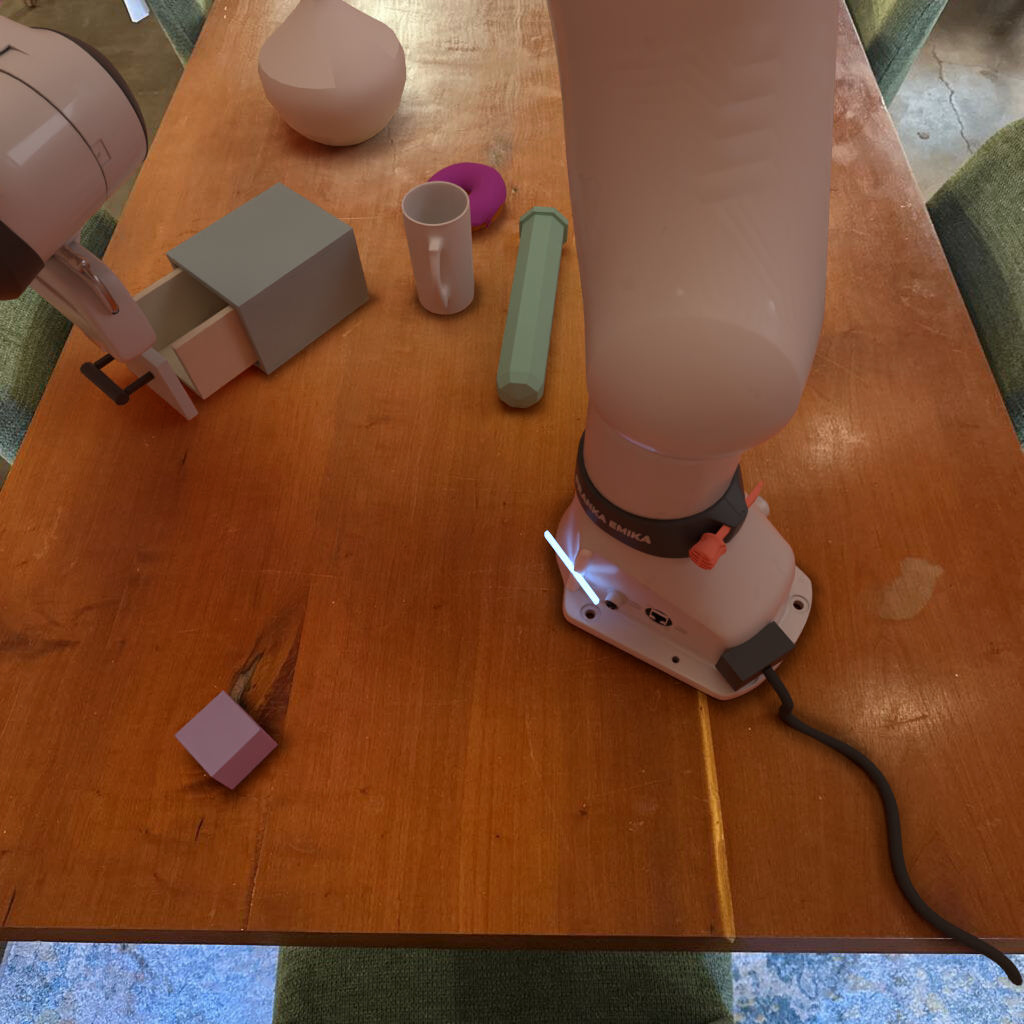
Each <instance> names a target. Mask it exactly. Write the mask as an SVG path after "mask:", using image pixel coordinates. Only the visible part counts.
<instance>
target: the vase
mask: <svg viewBox="0 0 1024 1024" xmlns="http://www.w3.org/2000/svg"><path fill="white" fill-rule="evenodd" d="M257 73H258V76H259V80H260V82H261V85H262V88H263V91H264V94H265V97H266V99H267V101H268V102H269V103H270V104H271V106H272V107H273V109H274V110H275V111H276V112H277V113H278V115H279V116H280V117H281V118H282V120H283V121H284V122H285V123H286V124H287V125H288V126H289V127H291V129H293V130H294V131H296V132H297V133H299V135H301V136H303V137H305V138H307V139H308V140H310V141H313V142H316V143H318V144H323V145H326V146H330V147H350V146H354V145H359V144H361V143H364V142H366V141H368V140H370V139H372V138H373V137H375V136H377V135H378V134H379V133H381V131H382V130H384V129H385V127H386V126H388V124H389V123H390V122H391V120H392V119H393V117H394V115H395V114H396V113H397V111H398V108H399V106H400V104H401V102H402V98H403V97H402V96H403V93H404V91H405V90H404V89H405V87H406V81H407V63H406V54H405V50H404V48H403V46H402V44H401V42H400V40H399V38H398V36H397V34H396V32H395V31H394V30H393V28H391V27H390V26H389V25H388V24H386V23H385V22H383V21H381V20H379V19H377V18H375V17H373V16H372V15H369V14H367V13H365V12H364V11H362V10H360V9H358V8H356V7H354V6H353V5H351V4H350V3H347V2H346V1H344V0H299V3H298V4H297V5H296V6H295V8H293V10H292V11H291V12H290V13H289V14H288V16H287V17H286V18H285V19H284V20H283V22H281V24H279V26H278V27H277V28H276V29H275V30H274V31H273V32H272V33H271V34H270V35H269V36H268V37H267V38H266V39H265V41H264V42H263V44H262V46H261V47H260V49H259V55H258V62H257Z"/></svg>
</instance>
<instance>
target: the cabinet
mask: <svg viewBox="0 0 1024 1024" xmlns="http://www.w3.org/2000/svg"><path fill="white" fill-rule="evenodd" d="M165 256H166V257H167V259H168V261H169V263H170V265H171V267H172V270H175V269H176V268H178V267H180V268H181V269H182V270H184V271H185V272H187V273H188V274H189V275H191V276H192V277H193V278H195V279H196V280H197V281H199V282H200V283H201V284H203V285H204V286H205V287H207V288H208V289H210V290H211V291H212V292H214V293H215V294H216V295H218V296H219V297H220V298H222V299H223V300H224V301H226V302H227V303H229V304H230V305H231V306H233V307H234V308H235V309H236V311H237V313H238V315H239V317H240V320H241V322H242V324H243V326H244V329H245V331H246V333H247V335H248V338H249V340H250V342H251V344H252V347H253V349H254V351H255V354H256V356H257V358H258V361H256V362H255V363H254V364H253V365H254V366H256V367H257V368H258V369H259V370H261V371H262V372H263V373H265V374H266V375H267V376H270V374H272V373H273V372H275V371H276V370H277V369H279V368H280V367H281V366H282V365H284V364H285V363H287V362H288V361H289V360H290V359H292V358H293V357H295V356H296V355H297V354H299V353H300V352H301V351H303V350H304V349H306V348H307V347H308V346H310V345H311V344H312V343H314V342H315V341H316V340H317V339H319V338H320V337H321V336H323V335H324V334H325V333H327V332H328V331H330V330H331V329H332V328H334V327H335V326H336V325H337V324H339V323H341V322H342V321H343V320H345V318H347V317H348V316H350V315H351V314H353V312H355V311H356V310H358V309H359V308H360V307H362V306H364V304H366V303H368V301H370V295H369V289H368V285H367V281H366V278H365V272H364V269H363V264H362V259H361V255H360V251H359V248H358V244H357V239H356V236H355V231H354V227H352V226H351V225H349V224H348V223H346V222H345V221H343V220H341V219H340V218H338V217H336V216H335V215H333V214H331V213H330V212H328V211H327V210H326V209H323V207H320V206H319V205H318V204H315V203H314V202H313V201H312V200H309V199H307V197H304V196H302V195H301V194H300V193H298V192H296V191H295V190H293V189H292V188H290V187H288V186H287V185H285V184H284V183H282V182H281V181H278V182H276V183H275V184H273V185H272V186H270V187H268V188H267V189H265V190H264V191H262V192H261V193H259V194H257V195H256V196H253V197H252V198H251V199H249V200H248V201H246V202H244V203H243V204H242V205H240V206H238V207H237V208H234V209H233V210H232V211H230V212H228V213H227V214H225V215H224V216H222V217H220V218H219V219H217V220H216V221H214V222H212V223H211V224H209V225H207V227H205V228H203V229H201V230H200V231H198V232H197V233H195V234H193V235H192V236H191V237H189V238H187V239H185V240H184V241H182V242H181V243H179V244H178V245H176V246H174V247H172V248H171V249H169V250H168V251H166V252H165Z"/></svg>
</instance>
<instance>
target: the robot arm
mask: <svg viewBox="0 0 1024 1024" xmlns="http://www.w3.org/2000/svg"><path fill="white" fill-rule="evenodd" d="M4 2H5V0H0V8H1V7H2V5H3V3H4ZM545 3H546V7H547V11H548V16H549V22H550V27H551V32H552V36H553V37H552V38H553V42H554V48H555V54H556V61H557V70H558V78H559V86H560V94H561V107H562V119H563V120H562V121H563V122H562V123H563V132H564V134H563V135H564V146H565V157H566V170H567V179H568V188H569V199H570V207H571V216H572V217H571V218H572V224H573V233H574V241H575V248H576V257H577V263H578V271H579V279H580V287H581V296H582V297H581V298H582V309H583V325H584V327H583V329H584V359H585V380H586V381H585V382H586V390H587V394H588V395H587V396H588V401H587V409H586V417H585V418H586V420H585V427H584V430H583V431H582V433H581V436H580V438H579V442H578V446H577V453H576V458H575V468H574V489H575V493H574V495H573V499H572V501H571V503H570V505H569V506H568V507H567V509H566V510H565V511H564V513H563V514H562V516H561V518H560V521H559V523H558V526H557V529H556V533H555V538H554V537H553V535H552V534H551V533H550V532H549V530H546V531H545V532H544V537H545V539H546V540H547V542H548V543H549V544H550V546H551V547H552V548H553V549H554V551H555V559H556V563H557V566H558V569H559V572H560V575H561V578H562V581H563V587H564V588H563V595H562V614H563V617H564V619H565V620H566V621H567V622H568V623H569V624H571V625H572V626H574V627H576V628H578V629H580V630H583V631H584V632H586V633H588V634H591V635H592V636H594V637H596V638H598V639H599V640H601V641H603V642H605V643H608V644H609V645H611V646H614V647H615V648H617V649H619V650H621V651H623V652H624V653H628V654H629V655H630V656H633V657H634V658H637V659H638V660H640V661H642V662H644V663H646V664H648V665H650V666H652V667H654V668H655V669H658V670H660V671H662V672H663V673H666V674H668V675H669V676H671V677H673V678H675V679H677V680H679V681H680V682H682V683H685V684H686V685H688V686H690V687H692V688H694V689H696V690H699V691H700V692H702V693H704V694H706V695H708V696H710V697H712V698H714V699H717V700H719V701H729V700H732V699H736V698H738V697H740V696H743V695H746V694H747V693H750V692H751V691H753V690H755V688H757V687H758V686H760V685H761V684H763V683H764V681H766V680H767V682H768V683H769V685H770V686H771V687H772V689H773V690H774V692H775V693H776V695H777V697H778V699H779V701H780V702H781V704H780V706H779V707H778V709H777V710H778V715H779V716H780V718H781V719H782V720H783V722H785V724H787V725H788V726H789V727H791V728H792V729H794V730H795V731H797V732H800V733H802V734H804V735H806V736H808V737H810V738H812V739H814V740H816V741H818V742H820V743H822V744H824V745H825V746H827V747H829V748H831V749H833V750H835V751H837V752H839V753H841V754H842V755H844V756H846V757H848V758H849V759H851V760H852V761H854V762H855V763H857V764H858V765H859V766H860V767H861V768H862V769H863V770H865V771H866V773H867V774H868V775H869V776H870V777H871V779H872V780H873V781H874V783H875V784H876V786H877V788H878V790H879V792H880V794H881V796H882V800H883V803H884V807H885V812H886V818H887V827H888V829H887V830H888V842H889V852H890V858H891V863H892V864H891V865H892V868H893V871H894V874H895V878H896V880H897V882H898V884H899V886H900V889H901V891H902V892H903V894H904V896H905V898H906V899H907V900H908V902H909V903H910V905H911V906H912V907H913V908H914V910H915V911H916V912H917V914H919V915H920V916H921V918H923V919H924V920H925V921H926V922H927V923H928V924H930V925H931V926H933V927H934V928H935V929H937V930H938V931H939V932H941V933H943V934H944V935H946V936H947V937H949V938H951V939H952V940H954V941H956V942H958V943H960V944H962V945H964V946H965V947H966V948H969V949H971V950H973V951H975V952H976V953H979V954H980V955H982V956H983V957H986V958H987V959H989V960H991V961H992V962H993V963H994V964H996V966H998V967H999V968H1000V969H1001V970H1002V971H1003V972H1004V974H1005V975H1006V977H1007V979H1008V980H1009V982H1011V983H1012V984H1013V985H1015V986H1016V987H1021V986H1022V985H1023V982H1024V980H1023V976H1022V974H1021V972H1020V970H1019V969H1018V966H1017V965H1016V964H1015V963H1014V962H1013V961H1012V960H1011V958H1009V957H1008V956H1007V955H1005V954H1004V953H1003V952H1002V951H1001V950H999V949H998V948H996V947H994V946H993V945H992V944H989V943H988V942H986V941H985V940H983V939H980V938H979V937H977V936H975V935H973V934H971V933H969V932H968V931H966V930H963V929H962V928H960V927H958V926H956V925H954V924H953V923H951V922H950V921H948V920H946V919H945V918H944V917H942V916H941V915H939V914H938V913H937V912H935V911H934V910H933V909H932V908H931V907H930V906H929V905H928V904H927V903H926V902H925V900H924V899H923V898H922V897H921V896H920V894H919V893H918V891H917V890H916V888H915V886H914V885H913V882H912V880H911V878H910V876H909V872H908V870H907V867H906V866H907V865H906V862H905V857H904V850H903V839H902V827H901V818H900V812H899V807H898V803H897V800H896V797H895V794H894V792H893V789H892V787H891V786H890V783H889V781H888V779H886V777H885V775H884V774H883V772H882V771H881V770H880V769H879V767H878V766H877V765H876V764H875V763H874V762H873V761H872V760H871V759H869V758H868V757H867V756H866V755H865V754H864V753H862V752H860V751H859V750H858V749H856V748H855V747H853V746H851V745H849V744H848V743H846V742H845V741H842V740H840V739H838V738H836V737H833V736H832V735H829V734H827V733H825V732H822V731H820V730H818V729H816V728H814V727H812V726H811V725H808V724H806V723H805V722H804V721H801V720H800V719H799V718H798V717H796V716H795V715H794V714H793V713H792V712H793V710H794V707H795V703H794V701H793V698H792V695H791V694H790V691H789V690H788V688H787V687H786V685H785V684H784V682H783V681H782V680H781V678H780V677H779V676H778V674H777V673H776V670H777V669H778V668H779V667H780V665H781V664H782V663H783V662H784V660H786V659H788V657H789V656H790V654H791V653H792V652H793V651H794V649H796V647H797V645H796V643H797V642H798V639H799V638H800V636H801V634H802V632H803V631H804V628H805V626H806V623H807V621H808V619H809V616H810V612H811V609H812V602H813V584H812V581H811V579H810V578H809V576H808V575H806V574H805V572H804V571H802V570H801V569H800V568H799V566H797V564H796V558H795V553H794V551H793V548H792V546H791V545H790V543H788V541H787V540H786V539H785V538H784V537H783V535H782V534H781V533H780V532H779V531H778V529H777V528H776V527H775V526H774V524H773V523H772V522H771V521H770V520H769V519H768V517H769V515H770V513H771V509H770V505H769V504H768V502H767V501H766V500H765V499H764V498H763V497H762V496H760V492H761V490H762V487H763V485H764V480H760V481H759V482H758V483H757V485H756V486H755V487H754V488H753V489H752V490H751V492H750V493H749V494H748V493H747V491H745V486H744V485H745V484H744V479H743V473H742V468H741V463H740V461H741V458H742V456H743V454H744V453H746V452H748V451H750V450H753V449H755V448H757V447H760V446H761V445H763V444H765V443H767V442H768V441H770V440H771V439H773V438H774V437H776V436H777V435H779V433H781V432H782V431H783V430H784V429H785V428H786V427H787V426H788V424H789V423H790V422H791V421H792V419H793V418H794V416H795V415H796V413H797V411H798V408H799V406H800V403H801V400H802V397H803V394H804V392H805V390H806V386H807V383H808V380H809V377H810V373H811V370H812V368H813V364H814V361H815V358H816V354H817V351H818V347H819V342H820V338H821V334H822V331H823V327H824V321H825V312H826V296H827V295H826V293H827V292H826V291H827V274H828V253H829V251H828V250H829V249H828V248H829V227H830V206H831V205H830V204H831V184H832V183H831V181H832V163H833V162H832V159H833V142H834V141H833V139H834V117H835V116H834V115H835V95H836V94H835V92H836V71H837V53H838V52H837V47H838V31H839V30H838V29H839V28H838V27H839V7H840V6H839V4H840V0H545ZM148 153H149V135H148V129H147V125H146V120H145V118H144V115H143V111H142V109H141V107H140V105H139V103H138V100H137V98H136V97H135V95H134V93H133V91H132V89H131V88H130V86H129V84H128V83H127V82H126V80H125V78H124V77H123V76H122V74H121V73H120V72H119V70H118V68H117V67H116V66H115V65H114V64H113V62H111V60H109V58H107V56H105V55H104V54H103V53H102V52H101V51H99V50H98V49H97V48H95V47H94V46H92V45H91V44H89V43H88V42H86V41H84V40H82V39H80V38H79V37H76V36H74V35H71V34H69V33H66V32H62V31H60V30H56V29H53V28H48V27H40V26H27V25H24V24H23V23H20V22H17V21H15V20H13V19H11V18H8V17H6V16H4V15H1V14H0V302H4V301H11V300H17V299H19V298H20V297H21V296H22V295H23V294H24V292H25V291H26V290H27V289H28V288H29V287H30V288H31V289H32V290H33V291H35V292H36V293H37V294H38V295H39V296H40V297H41V298H43V299H44V300H45V301H46V302H47V303H49V304H50V305H51V307H53V308H54V309H56V310H57V311H58V312H59V313H60V314H62V315H63V316H64V317H65V318H67V320H69V321H70V322H71V323H72V324H73V325H74V326H75V327H77V328H78V329H79V330H80V331H81V332H82V333H83V335H84V336H85V338H87V339H88V340H89V341H91V342H92V343H93V344H94V345H95V346H97V347H98V348H99V349H100V350H101V351H102V352H103V353H107V354H108V353H109V354H110V355H111V356H112V357H114V358H115V360H116V361H117V362H118V363H120V364H123V365H126V363H128V362H130V361H132V360H134V359H135V358H137V357H138V356H140V355H141V354H143V353H144V352H146V351H147V350H148V349H150V348H151V347H152V346H154V345H155V343H156V339H157V338H156V333H155V331H154V329H153V328H152V326H151V325H150V323H149V321H148V320H147V318H146V317H145V315H144V314H143V312H142V311H141V309H140V308H139V306H138V305H137V303H136V302H135V300H134V299H133V296H132V294H131V293H130V292H129V290H128V289H127V287H126V286H125V284H124V283H123V281H121V279H120V278H119V277H118V275H117V274H116V273H115V272H114V271H113V270H112V269H111V268H110V267H109V265H107V264H106V263H105V262H104V261H103V260H101V259H100V258H99V257H97V256H96V255H95V254H93V253H92V252H91V251H90V250H88V249H87V248H86V247H85V246H84V245H82V244H81V240H82V234H81V232H82V231H83V228H84V226H85V224H86V223H87V222H88V221H89V220H90V219H91V218H92V217H93V216H94V215H96V213H97V212H99V210H101V209H102V207H103V206H104V204H105V203H106V202H107V201H109V199H110V198H111V197H113V196H114V194H115V193H116V192H118V191H119V189H120V188H122V186H124V184H125V183H126V182H128V180H129V179H131V177H132V176H133V175H134V174H135V173H136V172H137V170H138V169H139V168H140V166H141V164H142V163H144V161H146V159H147V157H148ZM794 605H798V606H799V607H800V609H797V608H796V607H795V606H794ZM587 614H592V615H593V616H594V617H593V618H588V617H587V616H586V615H587ZM674 661H675V662H674Z"/></svg>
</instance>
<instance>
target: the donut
mask: <svg viewBox="0 0 1024 1024" xmlns="http://www.w3.org/2000/svg"><path fill="white" fill-rule="evenodd" d="M432 181H444V182H449V183H453V184H455V185H457V186H459V187H461V188H462V189H463V190H464V191H465V192H466V193H467V195H468V197H469V204H470V215H471V233H472V232H475V231H479V230H482V229H483V228H486V229H489V227H490V225H491V223H494V221H495V220H496V219H498V217H499V216H500V214H501V212H502V209H503V208H504V204H505V202H506V199H507V196H508V195H507V193H508V192H507V191H508V190H507V186H506V183H505V180H504V178H503V176H502V174H500V172H499V171H498V170H497V169H495V168H494V167H493V166H490V165H487V164H483V163H478V162H468V161H467V162H457V163H454V164H453V163H452V164H450V165H448V166H445V167H444V168H442V169H440V170H438V171H437V172H436V173H434V174H433V175H431V177H430V178H428V180H427V181H426V182H432Z"/></svg>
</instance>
